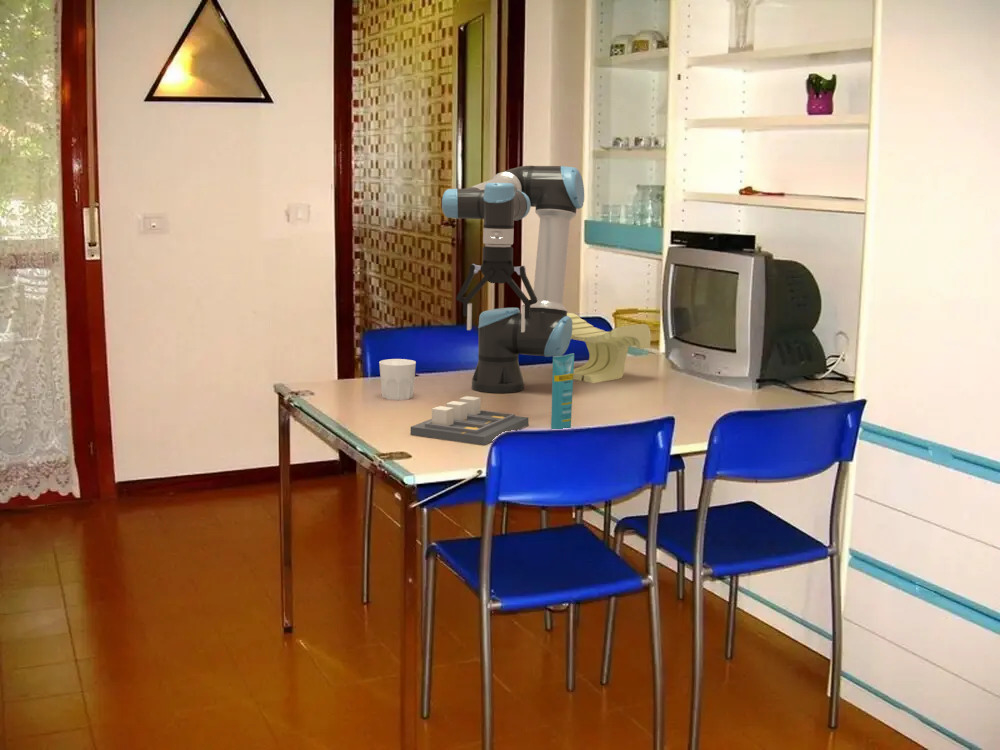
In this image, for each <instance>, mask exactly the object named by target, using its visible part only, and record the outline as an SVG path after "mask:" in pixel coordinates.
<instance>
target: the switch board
mask: <svg viewBox="0 0 1000 750" xmlns="http://www.w3.org/2000/svg"><path fill="white" fill-rule="evenodd" d="M527 426H529V417H528V416H519V415H516V414H515V413H507V412H498V411H491V410H483V409H480V414H477V415H472V414H467V419H465V420H455V419H453V424H452V425H450V426H444V425H437V424H432V418H430V419H427V420H424V421H422V422H420V423H419V422H418V423H417V424H414V425H412V426H410V436H415V435H416V436H415V437H421V438H422V437H423V438H424V437H425V438H430V439H438V440H444V441H452V442H458V443H464V444H470V445H471V444H472V445H479V446H486V445H488V444H491V443H493V442H492V440H493V439H494V438H495V437H496V436H498V435H499V434H501V433H502V432H505V431H511V430H517V431H519V430H522V429H523V427H524V428H526V427H527ZM518 429H519V430H518Z"/></svg>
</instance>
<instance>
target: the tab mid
mask: <svg viewBox="0 0 1000 750" xmlns="http://www.w3.org/2000/svg"><path fill="white" fill-rule="evenodd" d="M445 407H451V408H454V416H453V419H455V420H465V419H467V403H466V402H460V401H457V400H452V401H449V402H447V403H445Z"/></svg>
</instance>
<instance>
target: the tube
mask: <svg viewBox="0 0 1000 750" xmlns="http://www.w3.org/2000/svg"><path fill="white" fill-rule="evenodd" d="M574 369H575V353H569V354H568V353H567V354H563V355H561V356H557V357H553V356H552V377H551V378H552V380H551V381H552V383H551V384H552V386H551V416H550V419H551V420H550V430H551V429H563V428H571V429H572V413H573V412H572V407H573V406H572V405H573V391H574V390H573V389H574V379H573V373H574Z"/></svg>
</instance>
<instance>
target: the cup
mask: <svg viewBox="0 0 1000 750" xmlns="http://www.w3.org/2000/svg"><path fill="white" fill-rule="evenodd" d="M378 363H379V364H378V365H379V374H380V385H381V387H380V389H381V390H380V391H381V398H383V399H386V400H387V401H388V400H390V401H392V400H393V401H405V400H410V398H411V399H412V398H414V387H415V375H416V364H417V362H416V360H412V359H406V358H403V359H402V358H391V359H390V358H389V359H382V360H380V361H379V362H378Z"/></svg>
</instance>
